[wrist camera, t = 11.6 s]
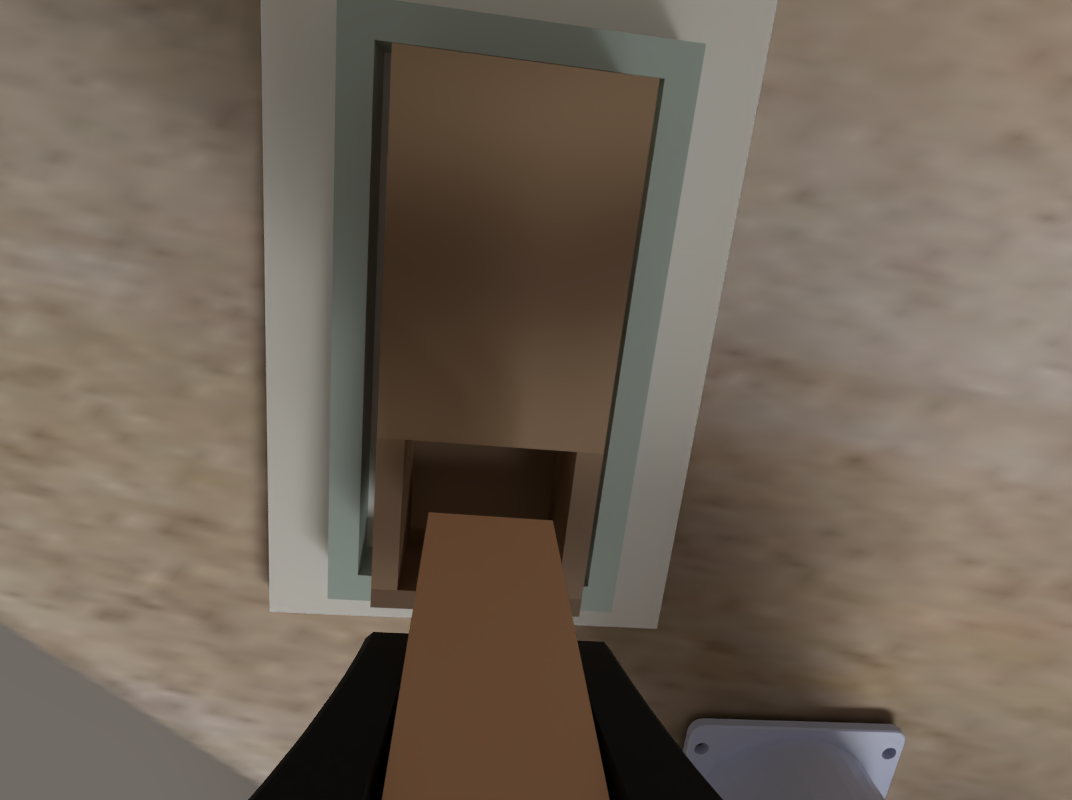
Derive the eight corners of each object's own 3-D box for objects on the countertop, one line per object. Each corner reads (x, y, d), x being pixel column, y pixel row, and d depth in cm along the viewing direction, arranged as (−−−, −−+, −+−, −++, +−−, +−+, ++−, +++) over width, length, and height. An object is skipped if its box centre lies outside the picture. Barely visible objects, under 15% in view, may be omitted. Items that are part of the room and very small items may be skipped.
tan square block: (538, 624, 14) (583, 985, 8) (421, 618, 13) (368, 987, 7) (552, 520, 13) (615, 827, 7) (428, 511, 13) (378, 822, 7)
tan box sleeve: (560, 534, 20) (579, 616, 16) (392, 524, 20) (370, 606, 16) (618, 101, 16) (659, 78, 13) (413, 75, 16) (391, 42, 12)
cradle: (650, 613, 22) (669, 660, 20) (277, 595, 21) (253, 644, 19) (765, 1, 17) (808, -26, 15) (270, -73, 15) (235, -114, 13)
